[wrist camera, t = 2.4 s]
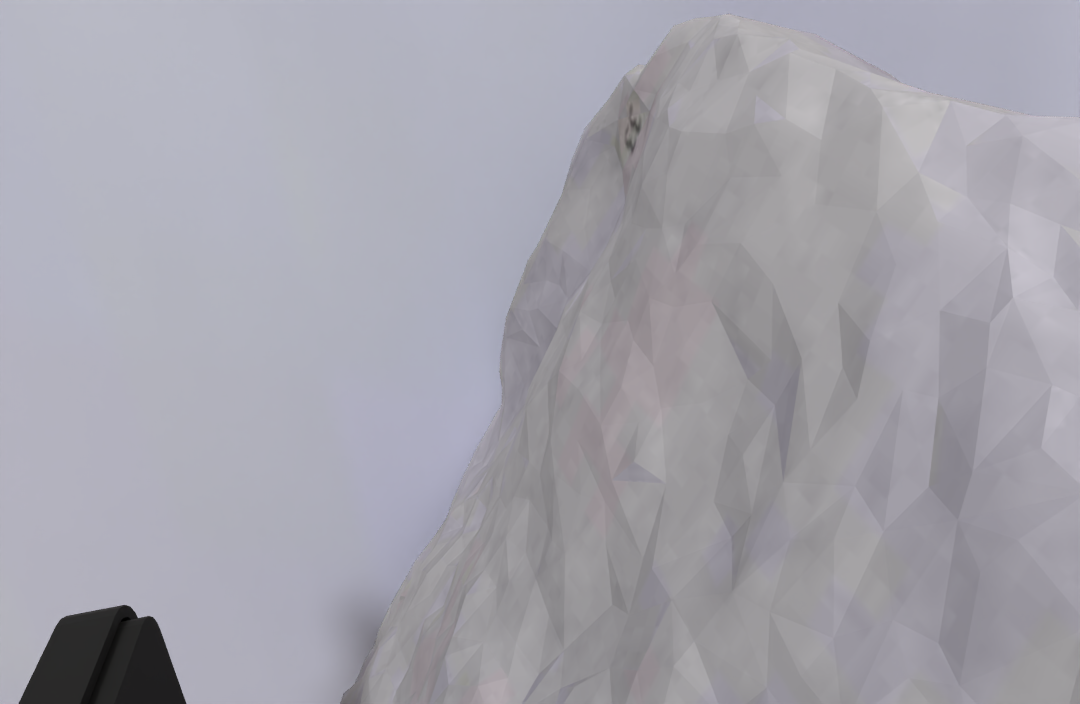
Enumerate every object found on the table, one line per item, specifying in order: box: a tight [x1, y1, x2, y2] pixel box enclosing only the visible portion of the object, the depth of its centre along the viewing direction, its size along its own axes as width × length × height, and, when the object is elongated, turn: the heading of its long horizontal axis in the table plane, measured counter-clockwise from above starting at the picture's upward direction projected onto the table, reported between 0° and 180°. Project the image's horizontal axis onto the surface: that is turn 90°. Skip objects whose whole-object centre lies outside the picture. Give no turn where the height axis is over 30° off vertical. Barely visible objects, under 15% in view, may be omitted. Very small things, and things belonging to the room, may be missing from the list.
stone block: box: [340, 14, 1080, 704], centre depth 10 cm, size 12×5×10 cm, turn 155°
